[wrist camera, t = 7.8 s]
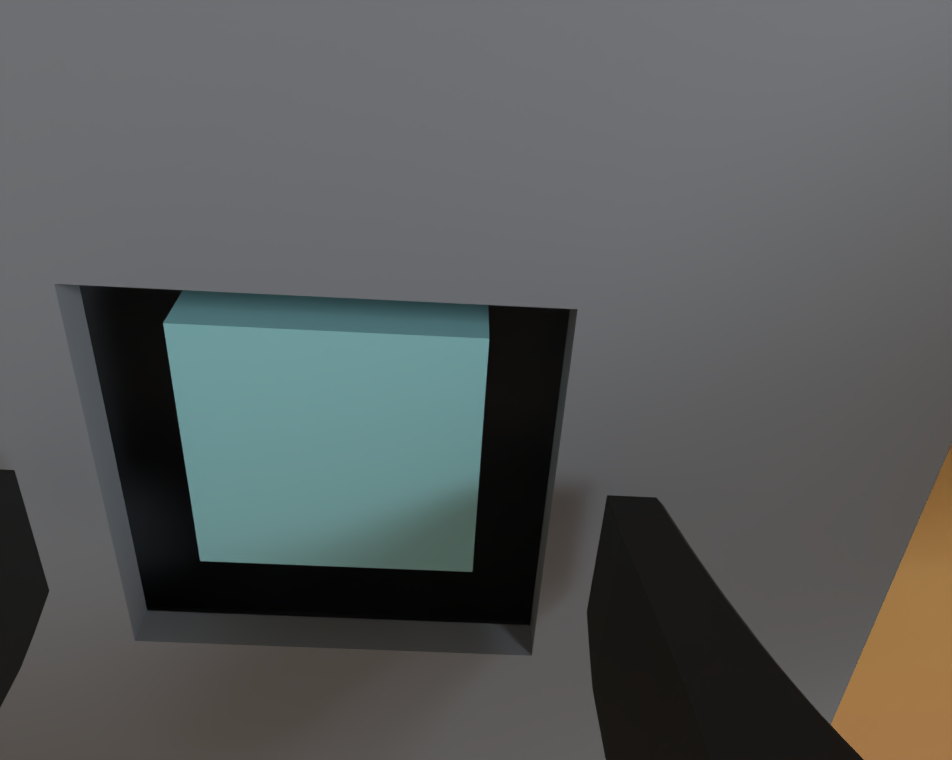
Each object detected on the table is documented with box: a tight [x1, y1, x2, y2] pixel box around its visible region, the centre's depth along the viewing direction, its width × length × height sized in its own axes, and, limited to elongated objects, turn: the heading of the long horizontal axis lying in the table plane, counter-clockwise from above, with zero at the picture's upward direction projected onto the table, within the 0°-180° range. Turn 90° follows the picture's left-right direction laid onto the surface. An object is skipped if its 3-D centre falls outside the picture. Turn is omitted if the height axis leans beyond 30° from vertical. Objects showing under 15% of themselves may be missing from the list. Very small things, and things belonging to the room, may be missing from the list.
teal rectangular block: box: [163, 290, 489, 572], centre depth 14 cm, size 4×4×5 cm
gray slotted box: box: [0, 0, 952, 760], centre depth 14 cm, size 16×18×6 cm
